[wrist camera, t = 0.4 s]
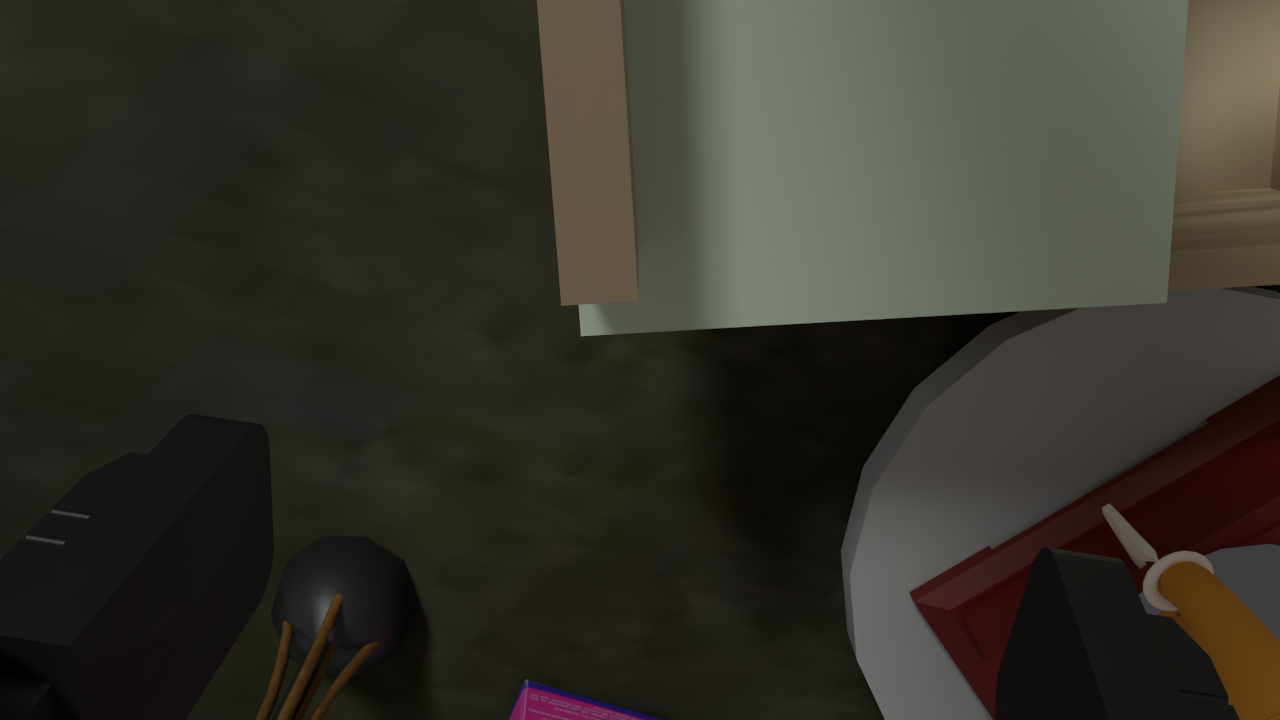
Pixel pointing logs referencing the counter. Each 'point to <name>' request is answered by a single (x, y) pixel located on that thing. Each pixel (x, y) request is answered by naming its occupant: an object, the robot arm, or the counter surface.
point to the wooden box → (1228, 148)
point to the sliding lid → (859, 157)
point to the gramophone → (1076, 493)
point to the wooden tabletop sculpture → (336, 618)
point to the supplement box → (565, 706)
